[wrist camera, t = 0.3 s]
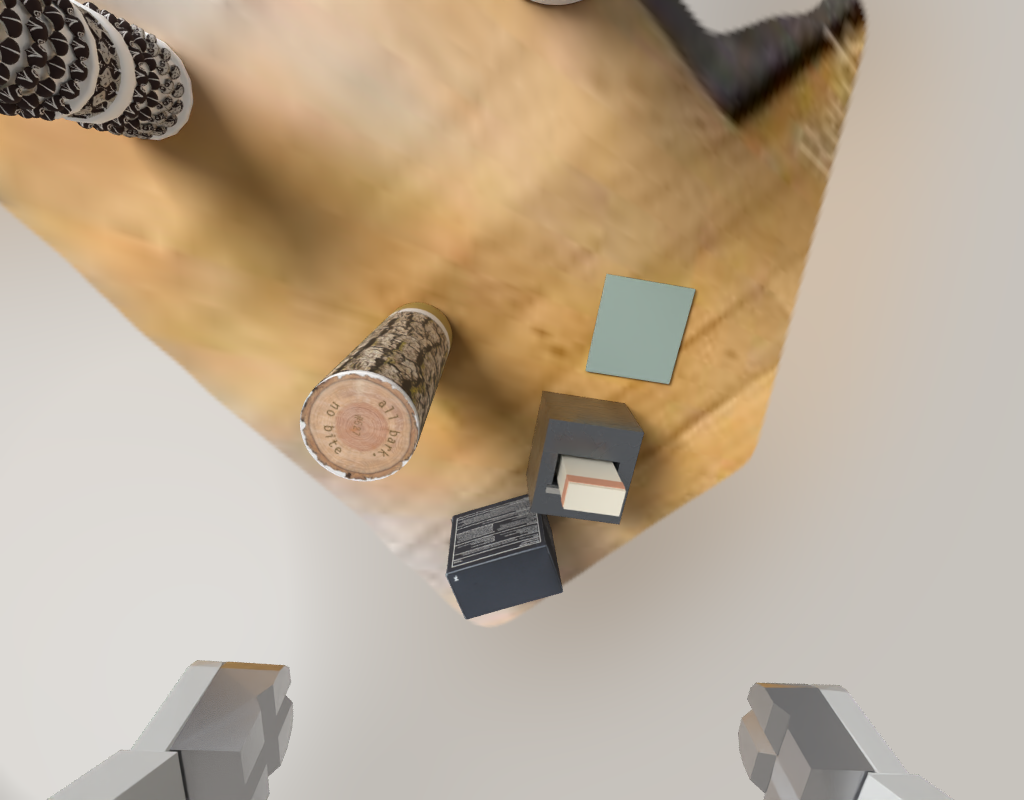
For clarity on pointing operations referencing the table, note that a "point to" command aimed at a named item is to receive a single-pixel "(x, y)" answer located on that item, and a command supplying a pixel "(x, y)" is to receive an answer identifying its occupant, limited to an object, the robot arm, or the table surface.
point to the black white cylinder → (89, 70)
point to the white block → (589, 485)
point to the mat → (639, 329)
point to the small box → (501, 557)
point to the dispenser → (579, 447)
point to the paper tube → (378, 396)
